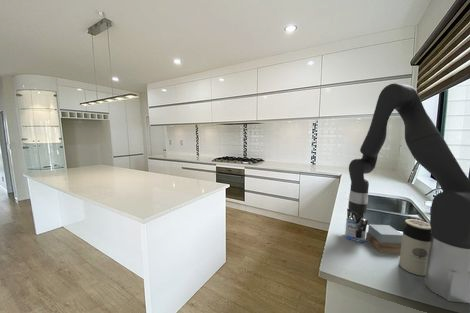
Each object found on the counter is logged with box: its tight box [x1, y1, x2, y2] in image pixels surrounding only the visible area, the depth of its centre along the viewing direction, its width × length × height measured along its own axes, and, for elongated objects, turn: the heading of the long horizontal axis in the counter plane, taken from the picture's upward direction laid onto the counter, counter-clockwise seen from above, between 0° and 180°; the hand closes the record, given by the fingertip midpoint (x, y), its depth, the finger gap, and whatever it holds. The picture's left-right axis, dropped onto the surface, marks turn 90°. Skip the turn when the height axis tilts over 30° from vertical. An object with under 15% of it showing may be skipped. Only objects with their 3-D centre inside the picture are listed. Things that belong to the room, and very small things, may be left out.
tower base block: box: [365, 231, 401, 254], centre depth 87 cm, size 10×10×4 cm
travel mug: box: [398, 218, 432, 276], centre depth 72 cm, size 8×8×18 cm
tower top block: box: [367, 224, 403, 244], centre depth 87 cm, size 9×9×4 cm
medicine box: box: [344, 217, 367, 243], centre depth 93 cm, size 8×4×9 cm, turn 62°
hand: (354, 234), depth 93 cm, fingers closed on medicine box, 5 cm apart
